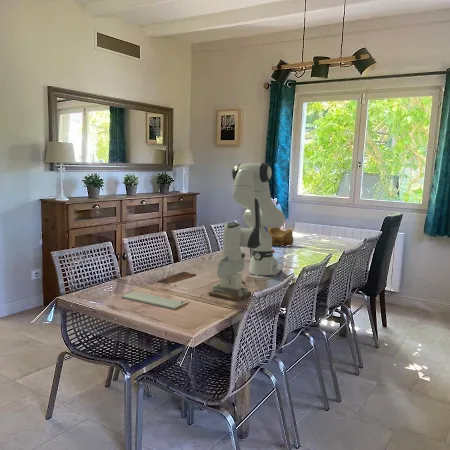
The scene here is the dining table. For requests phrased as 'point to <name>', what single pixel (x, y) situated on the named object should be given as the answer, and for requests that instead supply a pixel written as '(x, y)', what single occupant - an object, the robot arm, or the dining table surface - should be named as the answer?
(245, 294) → the track base
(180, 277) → the wooden tablet
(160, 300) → the baseboard molding
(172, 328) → the dining table surface
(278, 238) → the rough brown rock
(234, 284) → the pale green rectangular block
